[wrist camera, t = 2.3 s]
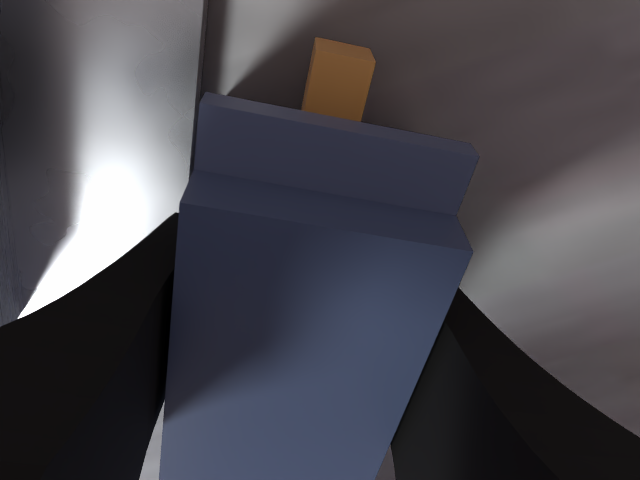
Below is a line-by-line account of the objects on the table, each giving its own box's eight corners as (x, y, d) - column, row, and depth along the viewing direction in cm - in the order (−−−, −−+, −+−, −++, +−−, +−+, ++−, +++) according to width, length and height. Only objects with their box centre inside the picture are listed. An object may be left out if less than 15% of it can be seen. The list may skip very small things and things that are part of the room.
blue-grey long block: (341, 367, 15) (353, 528, 11) (197, 348, 14) (156, 509, 10) (440, 56, 10) (519, 144, 6) (235, 12, 10) (188, 78, 6)
